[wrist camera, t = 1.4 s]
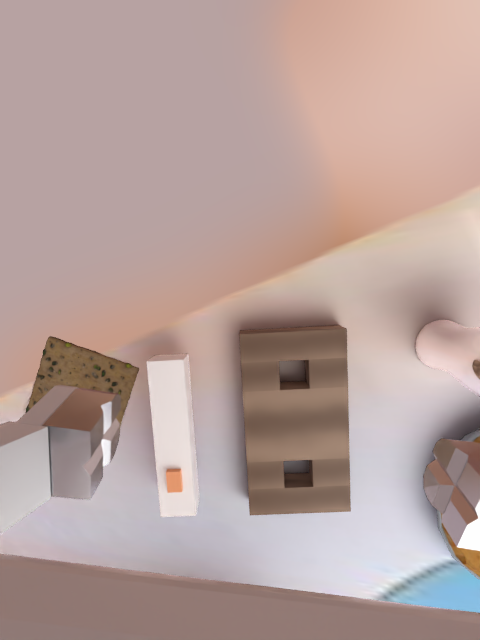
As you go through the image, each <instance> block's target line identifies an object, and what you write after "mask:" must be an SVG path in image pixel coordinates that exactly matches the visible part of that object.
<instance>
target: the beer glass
mask: <svg viewBox="0 0 480 640" xmlns="http://www.w3.org/2000/svg"><path fill="white" fill-rule="evenodd" d="M415 348H416V353H417V355H418V357H419V359H420V360H421V362H422V363H423V364H425V365H426V366H428V367H430V368H433V369H437V370H444V371H446V372H448V373H449V374H451V375H452V376H453V377H454V378H455V379H456V380H457V381H459V382H460V383H461V384H462V385H463V386H464V387H466V388H467V389H469V390H470V391H471V392H473V393H474V394H476V395H477V396H479V397H480V327H473V328H466V327H463V326H461V325H459V324H458V323H456V322H453V321H450V320H436V321H433V322H431V323H429V324H427V325H426V326H425V327H423V328H422V330H421V331H420V332H419V334H418V336H417V339H416V344H415Z"/></svg>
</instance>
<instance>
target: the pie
mask: <svg viewBox="0 0 480 640" xmlns="http://www.w3.org/2000/svg"><path fill="white" fill-rule="evenodd" d="M460 441H468V442H477V443H480V429H478V430H476V431H474V432H472V433H470V434H467V435H465V436H464V437H463V438H462V439H461V440H460ZM437 519H438V528H439V530H440V532H441V534H442V536H443V538H444V541H445V543H446V545H447V547H448V549H449V551H450V553H451V555H452V557H453V558H454V559H455V560H456V561H458V562H459V563H460V564H461V565H462V566H463V567H465V568H466V569H467V570H468V571H469V572H470V573H472V574H473V575H474V576H475V577H476V578H477V579H480V551H478V550H472V549H465V548H459V547H457V546H456V545H455V543H454V541H453V540H452V538H451V537H450V535H449V533H448V532H447V530H446V528H445V527H444V525H443V523H442V522H441V519H442V513H441V512H439V511H438V510H437Z"/></svg>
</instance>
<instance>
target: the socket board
mask: <svg viewBox="0 0 480 640" xmlns="http://www.w3.org/2000/svg"><path fill="white" fill-rule="evenodd" d="M239 338H240V355H241V372H242V389H243V406H244V423H245V440H246V457H247V474H248V491H249V508H250V515H268V514H294V513H321V512H347V511H351V508H350V463H349V418H348V372H347V329H346V328H344V327H342V326H340V325H333V326H315V327H296V328H277V329H259V330H240V333H239ZM292 360H305V379H306V381H296V382H280V377H279V361H292ZM295 460H308V461H309V473H292V474H284V464H283V461H295Z"/></svg>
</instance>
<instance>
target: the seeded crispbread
mask: <svg viewBox="0 0 480 640" xmlns="http://www.w3.org/2000/svg"><path fill="white" fill-rule="evenodd" d="M138 371H139V368H137V367H134V366H132V365H131V364H129V363H123V362H121V361H118V360H116V359H113V358H109V357H106V356H104V355H101V353H98V352H96V351H93V350H89V349H87V348H84V347H80V346H77V345H75V344H72V343H69V342H66V341H64V340H61V339H59V338H56V337H52V336H50V337H49V338H48V340H47V342H46V346H45V349H44V350H43V356H42V359H41V364H40V368H39V370H38V373H37V377H36V381H35V384H34V388H33V392H32V395H31V398H30V401H29V405H28V406H27V408H26V413H27V412H28V411H29V410H30V409H31V408H32V407H33V406H34V405H35V404H36V403H37V402H38V401H39V400H40V399H41V398H42V397H44V396H45V395H46V394H47V393H48V392H49V391H50V390H51V389H52V388H53V387H54V386H57V385H64V386H72V387H78V388H85V389H91V390H98V391H104V392H110V393H117V394H119V395H120V397H121V410H120V411H119V413H118V415H117V416H116V419H117V420H118V422H119V423H120V426H121V421H122V418H123V415H124V412H125V409H126V407H127V404H128V400H129V398H130V394H131V391H132V388H133V386H134V382H135V379H136V376H137V373H138Z"/></svg>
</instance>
